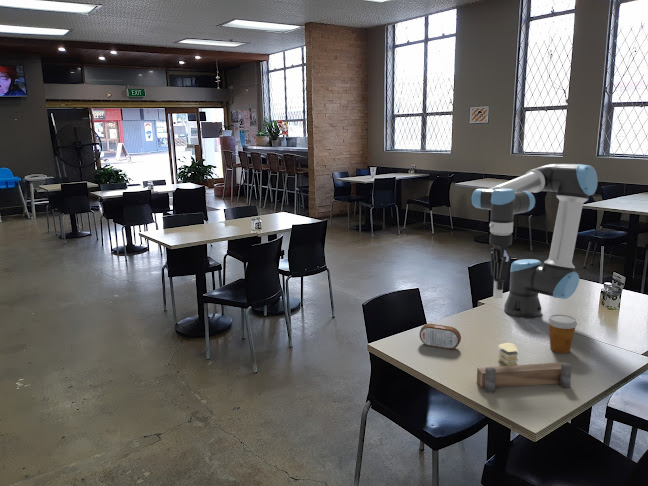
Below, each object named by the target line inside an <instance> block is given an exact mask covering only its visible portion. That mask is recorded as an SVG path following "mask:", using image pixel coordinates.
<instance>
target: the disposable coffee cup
mask: <svg viewBox="0 0 648 486" xmlns="http://www.w3.org/2000/svg"><path fill="white" fill-rule="evenodd" d="M547 322H548V326H549V327H548V329H549V331H548V332H549V341H550V343H549V345H550V350H551V351H553V352H555V353H558V354H569V353H570V351H571V349H572V348H571V347H572V342H573V338H574V335H575V331H576V330H575V329H576V327H577V326H578V322H577V320H576V317H574V316H572V315H567V314H562V313H561V314H560V313H555V314H551V315H549V317H548V319H547Z"/></svg>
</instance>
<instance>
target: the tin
mask: <svg viewBox="0 0 648 486" xmlns="http://www.w3.org/2000/svg"><path fill="white" fill-rule="evenodd" d="M418 336H419V339H420V341H421V342H422V343H423V344H424V345H426V346H427V347H431V348H433V347H434V348H439V349H445V350H454V349H456V348H457V347H458V346H459V345H460V343H461V341H462V336H461V333H460V331H459V330H458V329H457V328H456V327H453V326H449V325H442V324H436V323H426V324H424V325H422V326H421V328H420V331H419V335H418Z"/></svg>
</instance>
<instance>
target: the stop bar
mask: <svg viewBox="0 0 648 486" xmlns="http://www.w3.org/2000/svg"><path fill="white" fill-rule="evenodd" d="M572 368H573V365H572V364H571V363H569V362H561V361H560V362H550V363H549V362H548V363H547V362H546V363H530V364H529V363H528V364H516V365H509V366H508V365H497V366H496V365H495V366H483V367H481V366H480V367H479V366H478V367H477V368H476V383H477V384H478V386H479V387H480V389H484V392H486V393H490V394H493V393H495V392H496V388H505V387H507V388H509V387H525V386H539V385H550V384H551V385H554V384H556V385H557V384H558V385H559V387H561V388H564V389H569V388H570V387H571V381H572V371H573V370H572Z"/></svg>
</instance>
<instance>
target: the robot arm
mask: <svg viewBox="0 0 648 486" xmlns="http://www.w3.org/2000/svg"><path fill="white" fill-rule="evenodd" d="M598 181H599V180H598V174H597V170H596V169H595V168H594V167H593V166H592V165H589V164H582V163H577V164H576V163H549V164H544V165H542V166H539V167H535V168H533V169H530V170H528V171H527V172H525V174H523V175H521V176H518V177H516V178H513V179H511V180H509V181H506V182H503V183H500V184H498V185H495V186H492V187H490V188H477V189H475V190H474V191H473V192H472V195H471V197H470V198H471V204H472V206H473V207H474V208H475V209H481V210H489V211H490V220H489V221H490V223H489V225H488V227H489V232H490V233H489V240H488V242H489V244H490V245H492V248H489V254H490V255H489V257H490V275H491V277H492V278H493V291H492V292H493V293H492V295H493V296H492V297H493V298H494V299H503V293H504V292H503V291H504V289H503V288H504V282H506V281H507V279H508V273H509V272H510V273H509V275H510V276H509V292H508V295H507V298H506V301H505V302H504V306H503V311H504V312H505V313H506V314H508V315H510V316H513V317H517V318H524V319H525V318H526V319H530V318H538V317H540V316H542V309H543V308H542V305H541V302H540V298H539V294H540V295H543V296H544V295H545V296H548V297H553V298H555V299H562V300H567V299H569V298H570V297H572V296H573V295H574V293H575V292H576V291H577V289H578V285H579V283H580V275H579V274H578V273H577V272H576V271H575V269H576V266H575V265H574V264H573V258H574V252H575V248H576V242H577V237H578V231H579V226H580V221H581V215H582V212H583V211H582V210H583V205H584V203H586V202H587V201H589V197H590V196H592V195H595V193H596V191H597V188H598ZM539 192H552V193H556V196H555V197H556V198H557V199H558V201H559V203H558V208H557V212H556V216H555V217H556V218H555V223H554V228H553V233H552V240H551V245H550V250H549V255H548V259H546V260H544V262H543V265H541V264H542V262H541V261H540V260H539V259H533V258H532V259H531V258H529V259H528V258H527V259H524V258H523V259H517V260H515V261H513V262H512V263H511V266H510V262H511V260H512V256H510V255H508V254H509V251H508V247H509V246H511V245H512V243H513V234H512V233H513V232H514V217H515V216H514V215H517V214H518V215H519V214H525V213H526V212H529V211H531V210H532V209H534V207H535V205H536V198H535V196H534V194H533V193H539ZM509 268H510V271H509Z"/></svg>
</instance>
